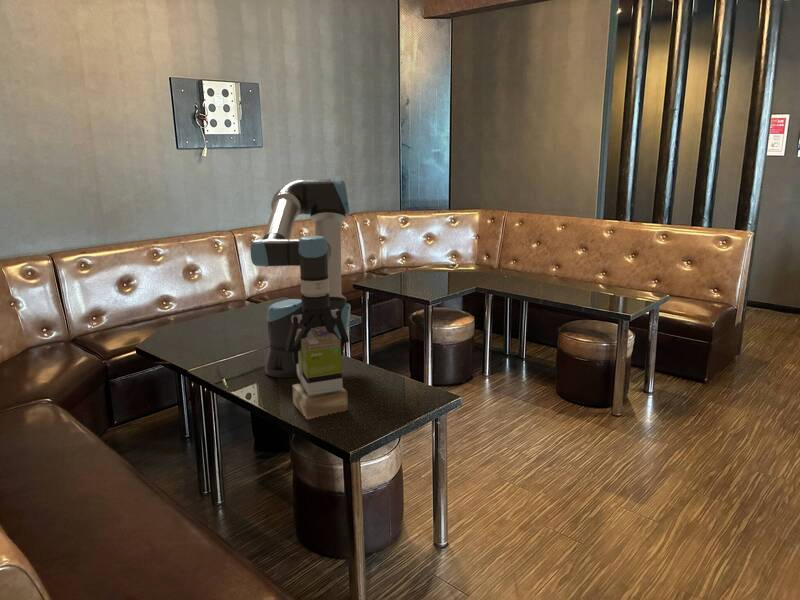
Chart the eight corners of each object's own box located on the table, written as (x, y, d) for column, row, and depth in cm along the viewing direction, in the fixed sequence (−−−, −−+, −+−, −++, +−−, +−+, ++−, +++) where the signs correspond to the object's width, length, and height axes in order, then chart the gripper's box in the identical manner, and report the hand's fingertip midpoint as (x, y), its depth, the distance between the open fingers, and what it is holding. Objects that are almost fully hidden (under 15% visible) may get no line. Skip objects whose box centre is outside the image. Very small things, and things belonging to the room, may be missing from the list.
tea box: (296, 377, 174) (293, 328, 171) (329, 372, 178) (327, 324, 174) (307, 396, 161) (305, 343, 157) (344, 390, 164) (342, 339, 161)
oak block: (293, 404, 174) (292, 385, 172) (332, 396, 179) (331, 377, 178) (306, 420, 163) (305, 399, 162) (347, 411, 169) (347, 391, 167)
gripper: (277, 301, 155) (282, 382, 160) (359, 291, 165) (361, 367, 170) (269, 295, 161) (274, 373, 166) (349, 286, 171) (351, 359, 177)
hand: (318, 370), depth 168 cm, fingers closed on tea box, 10 cm apart
